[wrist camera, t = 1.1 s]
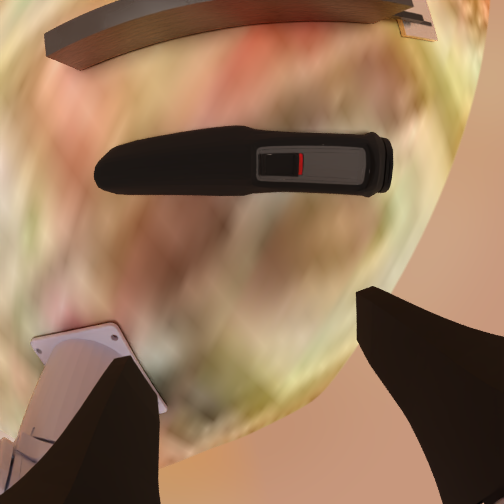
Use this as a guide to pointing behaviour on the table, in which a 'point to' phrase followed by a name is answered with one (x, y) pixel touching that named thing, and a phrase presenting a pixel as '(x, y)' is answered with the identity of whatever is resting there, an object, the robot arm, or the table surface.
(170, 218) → the table surface
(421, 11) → the gauge frame
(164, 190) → the electric trimmer
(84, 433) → the robot arm
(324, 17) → the gauge plunger
